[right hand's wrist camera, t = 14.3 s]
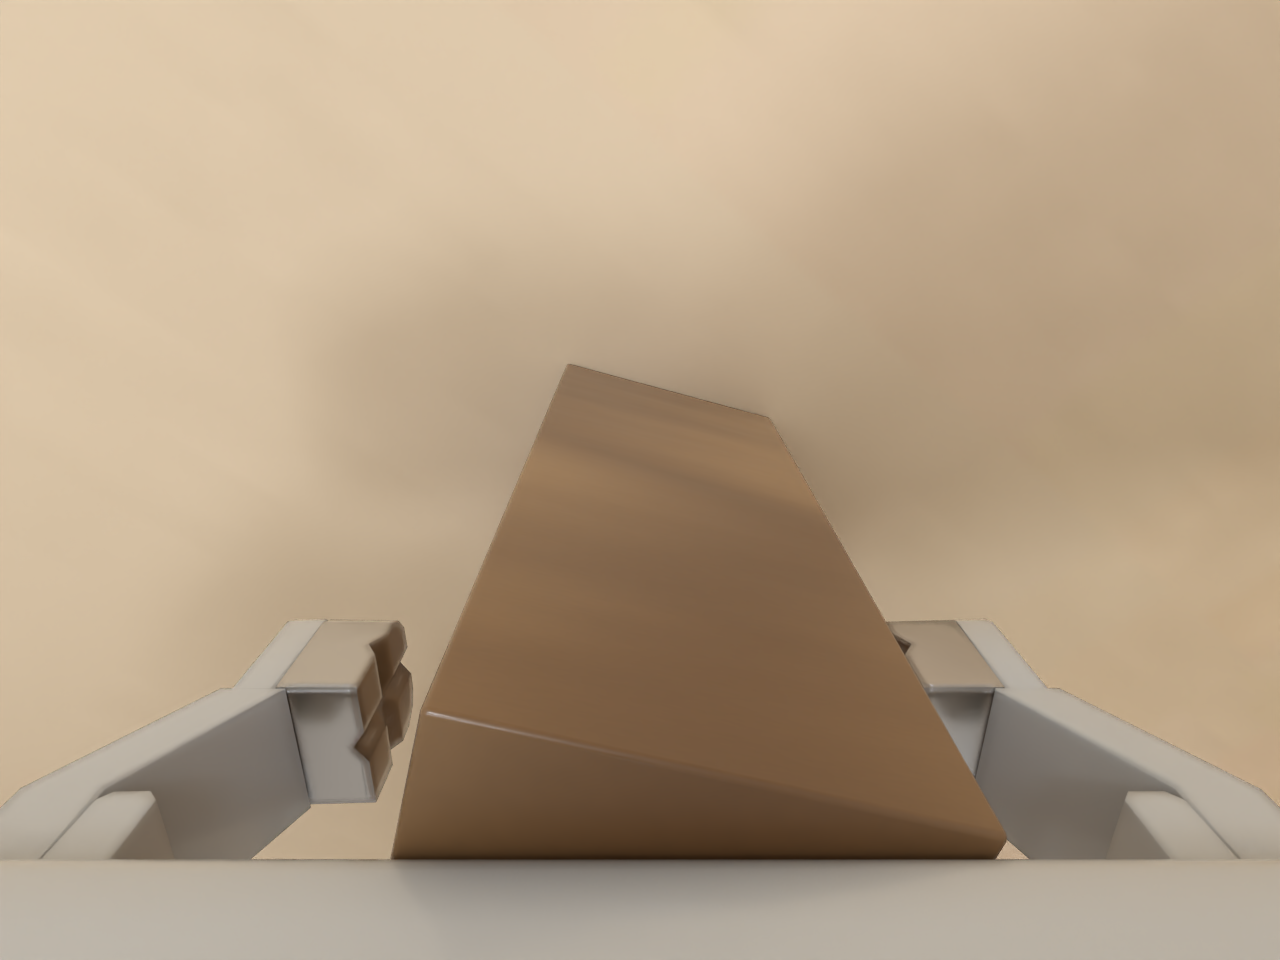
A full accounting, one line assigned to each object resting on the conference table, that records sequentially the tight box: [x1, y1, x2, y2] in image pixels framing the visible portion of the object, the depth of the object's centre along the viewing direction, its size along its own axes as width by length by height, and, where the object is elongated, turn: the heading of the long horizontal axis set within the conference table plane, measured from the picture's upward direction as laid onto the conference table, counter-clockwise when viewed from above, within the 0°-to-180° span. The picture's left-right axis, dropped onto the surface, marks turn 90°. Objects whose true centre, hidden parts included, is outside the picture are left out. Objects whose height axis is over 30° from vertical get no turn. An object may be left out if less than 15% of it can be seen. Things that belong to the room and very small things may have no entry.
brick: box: [390, 364, 1007, 860], centre depth 11 cm, size 4×5×11 cm
